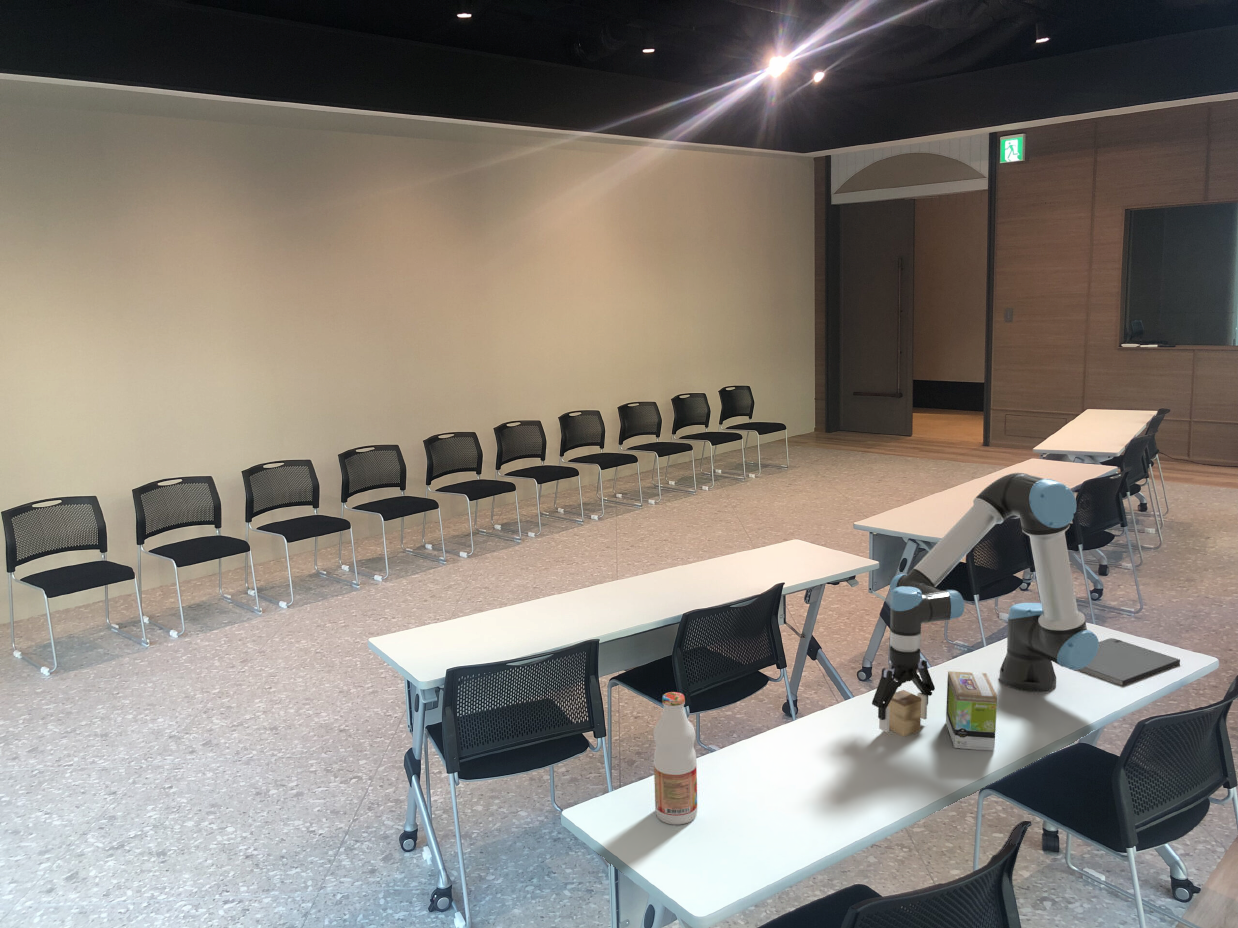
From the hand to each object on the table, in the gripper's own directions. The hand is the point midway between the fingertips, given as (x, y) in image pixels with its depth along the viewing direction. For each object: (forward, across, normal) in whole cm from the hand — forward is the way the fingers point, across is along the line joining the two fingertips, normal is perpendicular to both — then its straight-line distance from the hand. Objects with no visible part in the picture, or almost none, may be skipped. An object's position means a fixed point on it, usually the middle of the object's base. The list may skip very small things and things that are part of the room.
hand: (903, 723), depth 240 cm
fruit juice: (+2, +72, +2) cm, 72 cm away
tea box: (+2, -11, +12) cm, 16 cm away
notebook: (+2, -85, +4) cm, 85 cm away
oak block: (+2, 0, 0) cm, 2 cm away
